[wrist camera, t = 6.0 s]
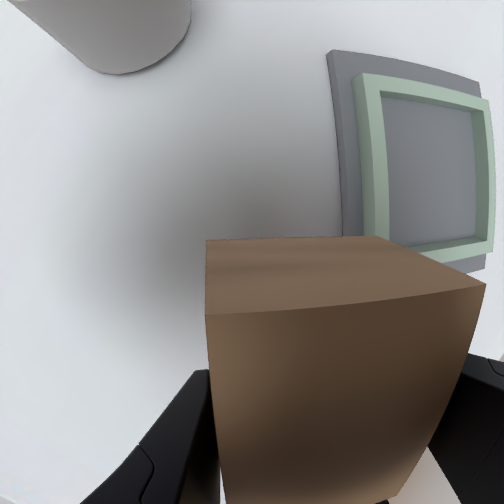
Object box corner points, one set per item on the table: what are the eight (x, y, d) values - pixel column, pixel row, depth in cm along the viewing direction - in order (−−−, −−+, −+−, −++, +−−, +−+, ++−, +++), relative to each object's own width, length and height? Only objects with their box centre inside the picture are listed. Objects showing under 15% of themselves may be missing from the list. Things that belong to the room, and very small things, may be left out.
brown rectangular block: (347, 411, 10) (396, 495, 6) (219, 429, 10) (231, 532, 5) (376, 235, 9) (486, 284, 4) (206, 240, 8) (204, 314, 4)
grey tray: (476, 265, 22) (495, 273, 19) (342, 294, 20) (358, 309, 18) (471, 84, 18) (490, 79, 15) (326, 54, 16) (341, 40, 14)
